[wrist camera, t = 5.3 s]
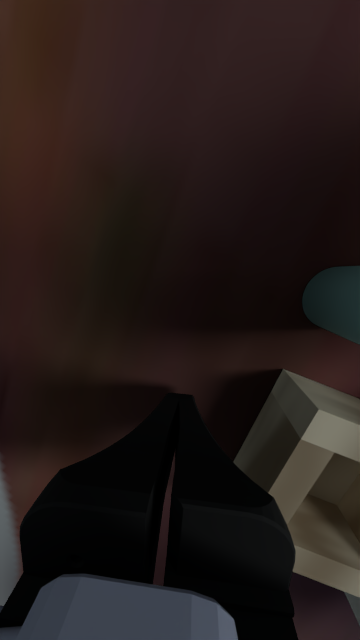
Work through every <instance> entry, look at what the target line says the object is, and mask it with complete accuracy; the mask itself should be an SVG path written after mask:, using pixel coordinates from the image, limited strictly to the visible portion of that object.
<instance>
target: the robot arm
mask: <svg viewBox="0 0 360 640" xmlns="http://www.w3.org/2000/svg"><path fill="white" fill-rule="evenodd" d="M175 447H176V448H175ZM174 452H175V473H174V480H173V487H172V494H171V506H170V519H169V532H168V545H167V558H166V567H165V576H164V586H159V585H153V579H154V571H155V563H156V556H157V548H158V541H159V533H160V526H161V518H162V511H163V504H164V498H165V493H166V488H167V484H168V479H169V475H170V470H171V466H172V461H173V457H174ZM20 544H21V553H22V562H23V571H24V572H23V574H22V576H21V578H20V579H19V581H18V583H17V584H16V586H15V588H14V590H13V591H12V593H11V595H10V596H9V598H8V600H7V602H6V604H5V605H4V606H0V640H298V637H297V633H296V630H295V626H294V622H293V619H292V617H294V607H293V604H292V600H291V597H290V593H289V590H288V588H289V584H290V580H291V576H292V572H293V568H294V564H295V555H296V550H295V547H294V543H293V540H292V537H291V534H290V531H289V529H288V526H287V524H286V522H285V520H284V517H283V515H282V513H281V511H280V509H279V507H278V505H277V503H276V501H275V499H274V497H273V496H271V495H270V494H269V493H268V492H266V491H265V490H264V489H263V488H261V487H260V486H259V485H257V484H256V483H255V482H254V481H252V480H251V479H250V478H249V477H248V476H247V475H246V474H245V473H244V472H243V471H241V470H240V469H239V468H238V467H237V466H236V465H235V464H234V462H233V461H232V460H231V459H230V458H229V457H228V456H227V455H226V454H225V452H224V451H223V450H222V449H221V447H220V446H219V445H218V443H217V442H216V441H215V439H214V438H213V436H212V435H211V433H210V432H209V430H208V428H207V427H206V425H205V423H204V421H203V419H202V417H201V415H200V413H199V411H198V408H197V406H196V403H195V400H194V397H193V395H187V394H178V393H168V394H166V396H165V397H164V399H163V400H162V401H161V403H160V404H159V405H158V406H157V407H156V409H155V410H154V411H153V412H152V413H151V414H150V415H149V416H148V417H147V418H146V419H145V420H144V421H143V422H142V423H141V424H140V425H139V426H138V427H136V428H135V429H134V430H133V431H131V432H130V433H129V434H128V435H126V436H125V437H123V438H122V439H121V440H119V441H117V442H116V443H114V444H113V445H111V446H110V447H108V448H106V449H104V450H102V451H101V452H99V453H97V454H95V455H93V456H91V457H89V458H87V459H84V460H82V461H80V462H77V463H75V464H72V465H70V466H68V467H65V468H63V469H60V470H59V472H58V473H57V474H56V475H55V476H54V477H53V479H52V480H51V481H50V482H49V483H48V485H47V486H46V487H45V489H44V490H43V491H42V493H41V494H40V495H39V497H38V498H37V500H36V501H35V502H34V504H33V505H32V507H31V508H30V510H29V511H28V512H27V514H26V515H25V517H24V519H23V521H22V523H21V526H20Z"/></svg>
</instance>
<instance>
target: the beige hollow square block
mask: <svg viewBox="0 0 360 640" xmlns="http://www.w3.org/2000/svg"><path fill="white" fill-rule="evenodd" d="M234 464H235V465H236V466H237V467H238V468H239V469H240V470H241V471H243V472H244V473H245V474H246V475H247V476H248V477H249V478H250V479H251V480H252V481H254V482H255V483H256V484H257V485H259V486H260V487H261V488H263V489H264V490H265V491H266V492H268V493H269V494H270V495H271V496H273V497H274V499H275V501H276V503H277V505H278V507H279V509H280V511H281V513H282V515H283V517H284V520H285V522H286V524H287V526H288V529H289V531H290V534H291V537H292V540H293V543H294V547H295V550H296V555H295V564H294V568H293V572H295V573H298V574H300V575H303V576H305V577H308V578H311V579H313V580H316V581H318V582H321V583H323V584H326V585H329V586H331V587H334V588H336V589H339V590H341V591H344V592H347V593H349V594H352V595H354V596H357V597H359V598H360V399H358V398H356V397H353V396H351V395H348V394H346V393H343V392H341V391H338V390H335V389H333V388H330V387H328V386H325V385H323V384H320V383H318V382H315V381H313V380H310V379H307V378H305V377H302V376H300V375H297V374H295V373H292V372H290V371H287V370H284V369H283V370H282V372H281V374H280V376H279V378H278V380H277V381H276V383H275V385H274V387H273V389H272V391H271V393H270V395H269V396H268V398H267V400H266V402H265V404H264V406H263V408H262V409H261V411H260V413H259V415H258V417H257V419H256V421H255V423H254V424H253V426H252V428H251V430H250V432H249V434H248V436H247V437H246V439H245V441H244V443H243V445H242V447H241V449H240V450H239V452H238V454H237V456H236V458H235V460H234Z"/></svg>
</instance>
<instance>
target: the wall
mask: <svg viewBox="0 0 360 640" xmlns="http://www.w3.org/2000/svg"><path fill="white" fill-rule="evenodd" d="M344 593H345V595H346V597H347V599H348V601H349V604H350V606H351V608H352V610H353V612H354V614H355V617H356V619H357V621H358V623H359V625H360V598H359V597H357V596H354V595H352V594H349V593H347V592H344Z"/></svg>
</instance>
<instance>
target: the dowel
mask: <svg viewBox="0 0 360 640" xmlns="http://www.w3.org/2000/svg"><path fill="white" fill-rule="evenodd" d="M302 306H303V310H304V313H305V315H306V316H307V318H308V319H309V320H310V321H311V322H312V323H313V324H315V325H317V326H319V327H321V328H323V329H326V330H328V331H330V332H332V333H335V334H337V335H339V336H341V337H344V338H346V339H348V340H350V341H352V342H355V343H357V344H359V345H360V266H340V267H332V268H328V269H325V270H323V271H321V272H320V273H318V274H317V275H315V276H314V277H313V278H312V279H311V280H310V282H309V283H308V284H307V286H306V288H305V290H304V293H303V298H302Z"/></svg>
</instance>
